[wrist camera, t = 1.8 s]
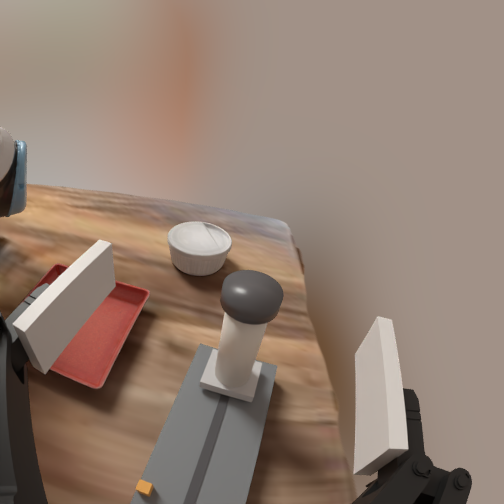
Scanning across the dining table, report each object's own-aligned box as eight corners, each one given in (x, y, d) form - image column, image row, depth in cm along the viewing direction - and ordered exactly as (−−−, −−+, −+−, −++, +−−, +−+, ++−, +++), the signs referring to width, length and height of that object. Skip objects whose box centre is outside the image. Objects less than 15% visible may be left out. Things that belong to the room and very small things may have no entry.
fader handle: (251, 403, 32) (283, 319, 24) (199, 387, 32) (210, 298, 25) (260, 367, 36) (291, 280, 28) (212, 354, 36) (227, 262, 29)
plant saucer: (105, 403, 31) (100, 389, 29) (0, 352, 31) (-9, 337, 29) (152, 306, 46) (152, 290, 44) (59, 277, 46) (56, 261, 44)
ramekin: (239, 261, 60) (244, 237, 57) (202, 290, 51) (205, 264, 48) (193, 237, 63) (195, 215, 61) (154, 260, 55) (154, 236, 52)
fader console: (222, 568, 17) (228, 571, 15) (122, 536, 18) (113, 534, 16) (271, 378, 39) (280, 358, 37) (198, 357, 40) (200, 335, 37)
